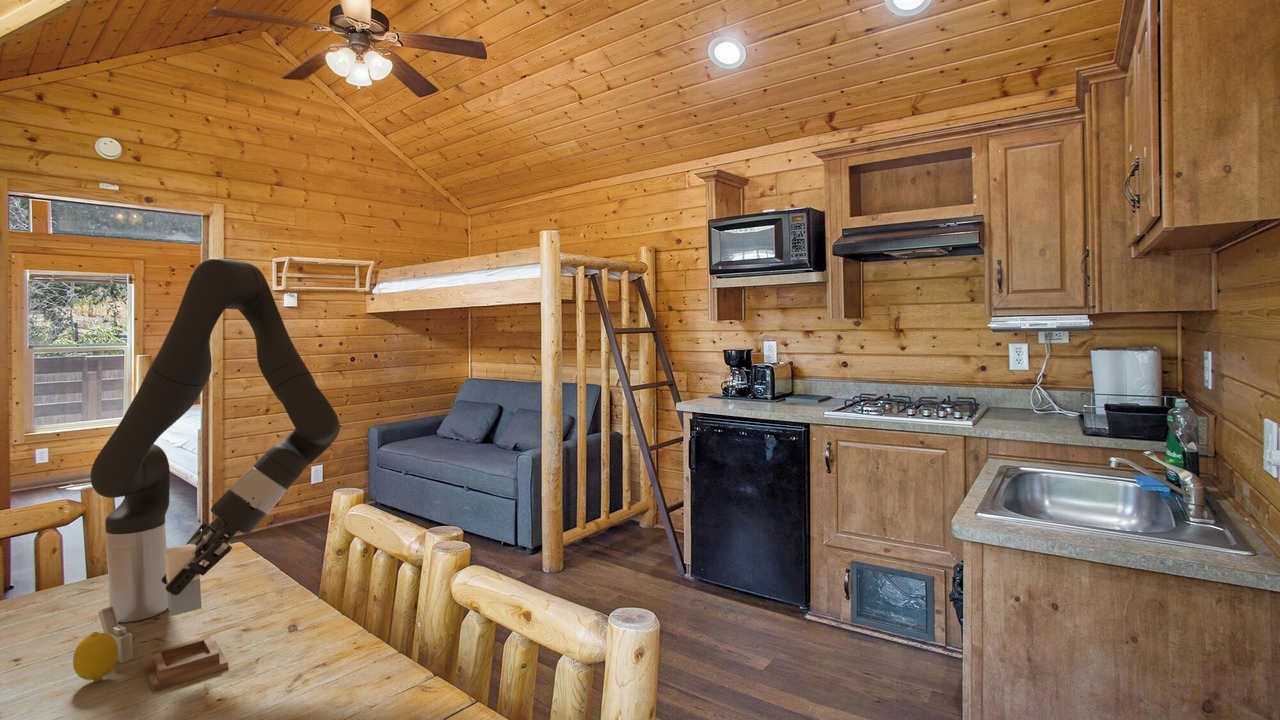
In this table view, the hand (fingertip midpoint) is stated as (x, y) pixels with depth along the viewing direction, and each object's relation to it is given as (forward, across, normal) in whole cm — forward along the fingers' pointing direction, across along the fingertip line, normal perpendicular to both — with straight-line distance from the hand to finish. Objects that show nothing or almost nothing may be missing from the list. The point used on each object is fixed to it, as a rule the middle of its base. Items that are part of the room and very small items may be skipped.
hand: (168, 587), depth 104 cm
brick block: (+2, 0, +4) cm, 5 cm away
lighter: (+14, -13, +6) cm, 20 cm away
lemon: (+17, -5, +4) cm, 18 cm away
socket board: (+9, 0, +11) cm, 14 cm away
